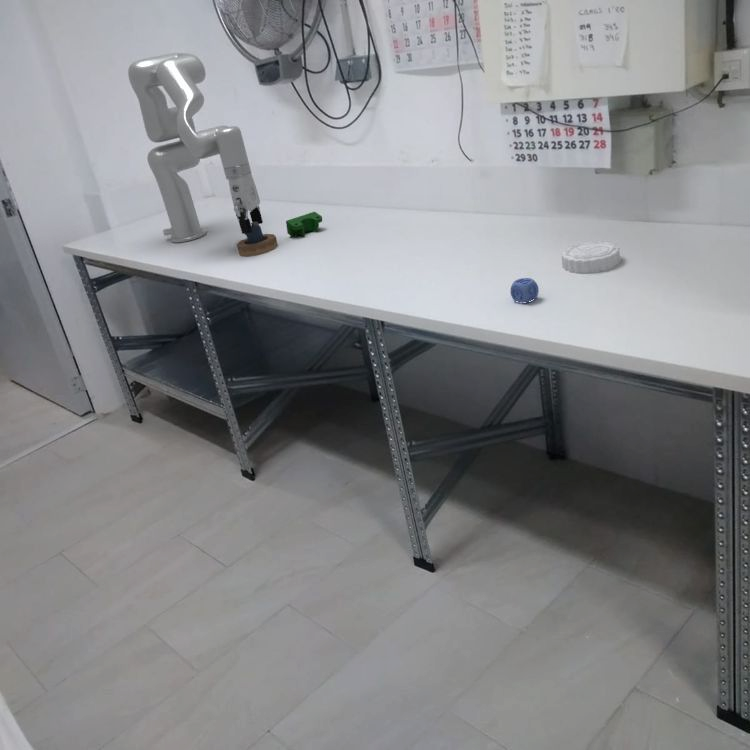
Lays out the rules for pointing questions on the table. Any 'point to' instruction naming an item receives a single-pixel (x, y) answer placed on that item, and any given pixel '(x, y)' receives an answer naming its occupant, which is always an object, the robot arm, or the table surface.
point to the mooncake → (590, 257)
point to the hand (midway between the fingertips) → (252, 228)
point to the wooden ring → (257, 246)
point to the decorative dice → (524, 290)
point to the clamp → (303, 224)
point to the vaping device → (255, 234)
